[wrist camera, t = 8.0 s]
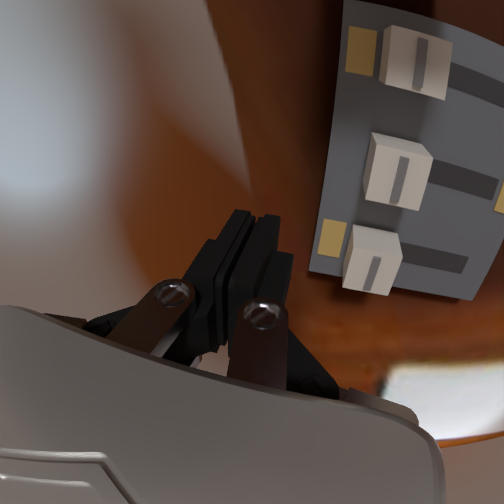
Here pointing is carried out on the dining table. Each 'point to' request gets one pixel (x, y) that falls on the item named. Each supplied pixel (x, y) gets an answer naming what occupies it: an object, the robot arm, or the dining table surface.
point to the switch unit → (435, 142)
